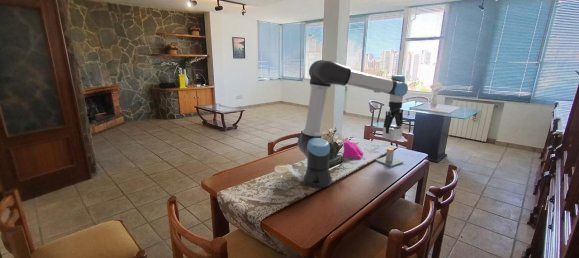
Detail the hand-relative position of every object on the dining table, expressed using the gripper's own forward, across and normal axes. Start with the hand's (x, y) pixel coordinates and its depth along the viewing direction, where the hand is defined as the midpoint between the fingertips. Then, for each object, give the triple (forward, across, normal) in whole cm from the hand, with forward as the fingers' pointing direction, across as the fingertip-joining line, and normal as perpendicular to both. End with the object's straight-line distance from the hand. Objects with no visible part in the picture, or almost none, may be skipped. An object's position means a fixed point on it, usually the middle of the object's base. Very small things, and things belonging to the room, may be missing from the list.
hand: (392, 136), depth 169 cm
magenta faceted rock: (+17, -11, +21) cm, 29 cm away
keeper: (+17, 0, 0) cm, 17 cm away
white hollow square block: (+1, 0, 0) cm, 1 cm away
